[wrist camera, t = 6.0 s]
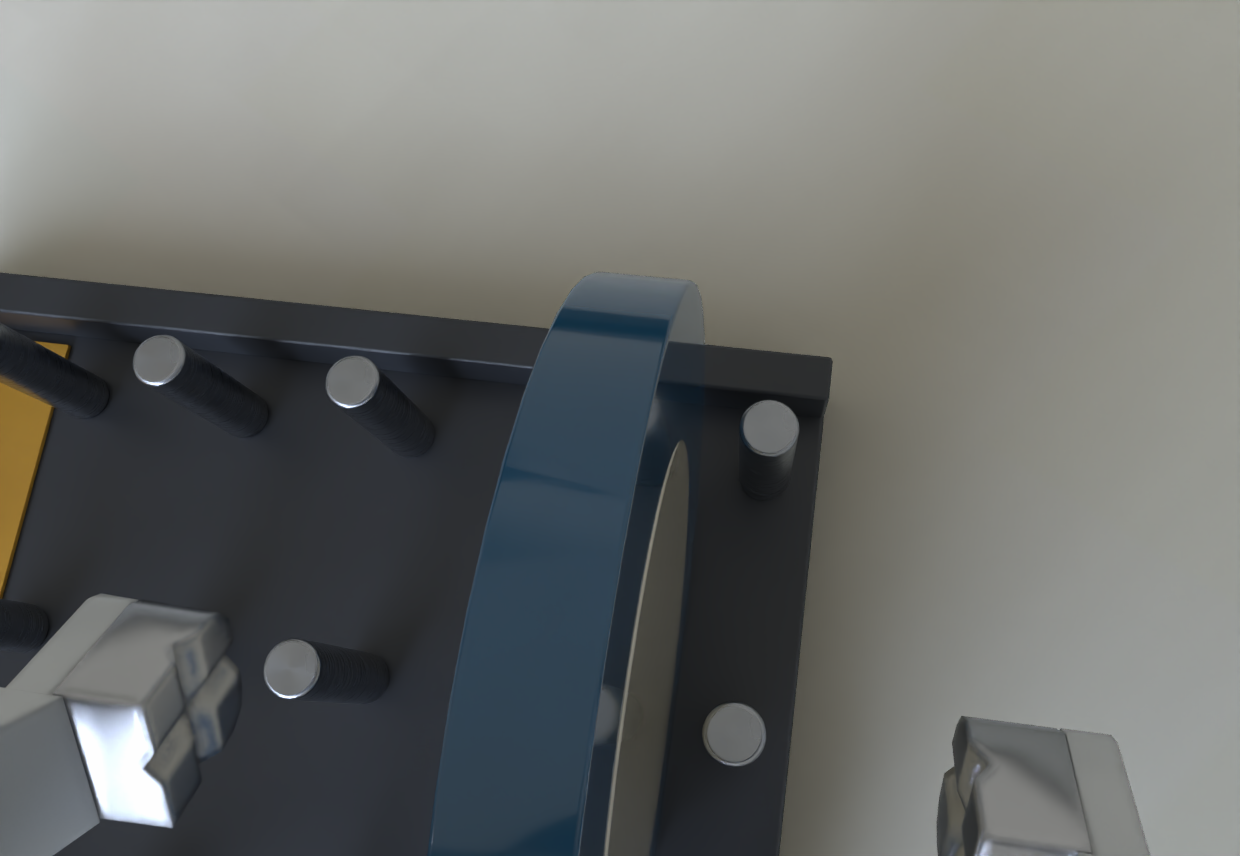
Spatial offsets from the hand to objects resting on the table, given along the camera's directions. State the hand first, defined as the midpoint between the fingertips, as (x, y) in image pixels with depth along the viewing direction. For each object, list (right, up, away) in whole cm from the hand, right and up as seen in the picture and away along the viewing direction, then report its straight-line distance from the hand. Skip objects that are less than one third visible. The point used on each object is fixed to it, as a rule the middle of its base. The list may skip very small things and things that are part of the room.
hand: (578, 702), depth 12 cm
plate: (+1, -2, +7) cm, 7 cm away
